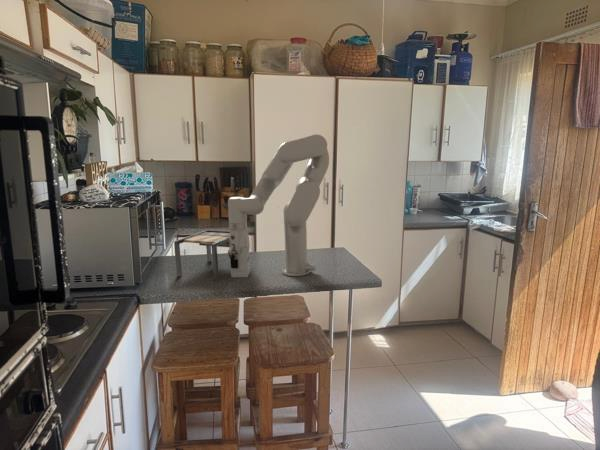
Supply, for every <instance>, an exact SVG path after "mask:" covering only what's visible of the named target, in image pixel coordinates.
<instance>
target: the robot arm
mask: <svg viewBox="0 0 600 450" xmlns="http://www.w3.org/2000/svg"><path fill="white" fill-rule="evenodd" d="M305 160H308V161H307V162H308V163H307V165H306V167H305V169H304V171H303V173H302V175H301V177H300V179H299V181H298V182H297V184H296V186H295V192H294V194H293V196H292V198H291V200H289V201H288V202H287V203H286V204H285V205H284V208H283V224H284V225H283V226H284V228H283V229H284V257H285V258H284V260H285V263H284V264H285V267H284V268H282V270H281V272H282V274H283V275H285V276H287V277H288V276H289V277H302V276H306V275H309V274H311V272H312V271H313V272H314V271H316V270H317V266H316V265H315V264H310V261H308V247H307V246H308V245H307V244H308V243H307V239H308V238H307V237H308V235H307V232H308V231H307V221H308V219H309V217H310V216H311V213H313V210H314V208H315V206H316V204H317V202H318V200H319V197H320V194H321V189H320V186H321V184H322V182H323V180H324V178H325V175H326V174H327V171H328V168H329V166H330V165H329V164H330V154H329V150H328V141H327V140H326V138H325V137H324V136H323V135H321V134H312V135H309V136H304V137H301V138H298V139H294V140H289V141H285V142H283V143H282V144H281V145H279V147H278V149H277V150H276V152H275V154H274V155H273V157H272V158H271V160H270V161H269V163H268V165H267V166H266V168H265V169H264V171H263V172H262V174H261V178H260V179H259V181H258V183H257V185H256V186H255V188H254V189H253V190H252V192H251V194H250V196H249V197H244V196H232V197H229V198H228V199H227V207H228V208H227V209H228V210H227V211H228V226H229V227H228V229H229V230H228V231H230V235H229V247H228V250H227V254H228V257H229V260H231V261H230V269H231V268H236V269H237V268H238V259H237V256H238V254H241V253H242V248H244V247H246V246H249V249H251V248H250V237H249V230H248V218H247V217H248V216H247V215H252V216H257V215H260V214H262V213H263V211H264V210H265V206H266V203H267V202H268V200H269V199H270V197H271V196H272V194H273V192H274V191H275V190H276V189H277V188H278V187H279V186H280V185H281V184H282V182H283V181H284V179H285V178H286V176H287V174H288V172H290V170H291V168H292V167H293V165H294V163H297V162H301V161H305ZM234 249H235V250H236V252H232V251H233V250H234ZM233 254H235V256H234V255H233Z"/></svg>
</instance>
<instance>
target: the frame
mask: <svg viewBox="0 0 600 450" xmlns="http://www.w3.org/2000/svg"><path fill="white" fill-rule="evenodd" d="M205 232H214V233H230V230H216V229H205V230H202V231H200V232H197V233H196V232H195V233H194V234H191V235H188V236H185V237H183V238H180V239H177V240H174V241H173V245H174V254H175V255H174V257H175V268H176V277H178V278H179V277H182V276H183V272H182V261H181V260H182V259H181V257H182V256H181V248H180V244H182V243H185V242H184V240H185V239H188V238H191V237H193V236H196V235H198V234H202V233H205ZM228 241H229V237H227V238H225V239H222V240H220V241H217V242H215V243H213V244H212V246H205V248H206V260H207V262H208V263H211V262H212V271H213V272H212V273H213V281H216V282H217V281H219V280H220V277H219V276H220V275H219V261H218V260H219V259H218V247H217V246H219V245H221V244H224V243H226V242H228Z"/></svg>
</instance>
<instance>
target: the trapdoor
mask: <svg viewBox="0 0 600 450" xmlns="http://www.w3.org/2000/svg"><path fill="white" fill-rule="evenodd" d="M229 235H230V233H214V232H205V233H202V234H198V235H196V236H193V237H191V238H188V239H185V240H184V242H183V243H191V244H199V246H203V247H204V246H205V247H206V246H211V247H212V244H213V243H215V242H217V241H220V240H222V239H225V238H227V237H229ZM219 247H221V248H229V241H228V242H226V243H224V244H221V245H219V246H217V248H219Z"/></svg>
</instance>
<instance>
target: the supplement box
mask: <svg viewBox="0 0 600 450" xmlns="http://www.w3.org/2000/svg"><path fill="white" fill-rule="evenodd" d="M232 252H236V250H235V249H234V250H233V251H232ZM233 255H234V256H235V254H233ZM237 259H238V268H237V269H236V268H231V267H230V278H249V275H250V273H251V260H250V259H251V257H250V248H249V246H246V247H244V248H242V253H241V254H238V256H237ZM229 260H230V259H229ZM230 262H231V260H230Z"/></svg>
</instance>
